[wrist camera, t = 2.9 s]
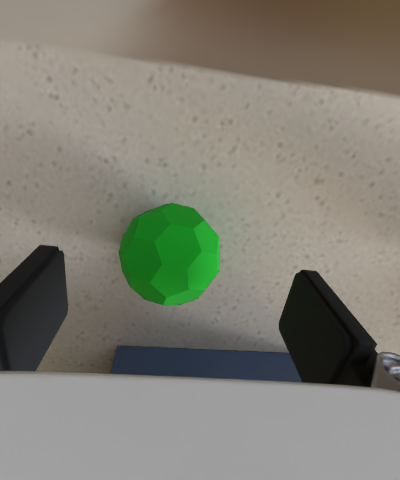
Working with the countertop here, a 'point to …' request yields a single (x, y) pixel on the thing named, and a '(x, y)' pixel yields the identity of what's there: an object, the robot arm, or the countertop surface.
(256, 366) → the board box
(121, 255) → the polyhedron
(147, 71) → the countertop surface
